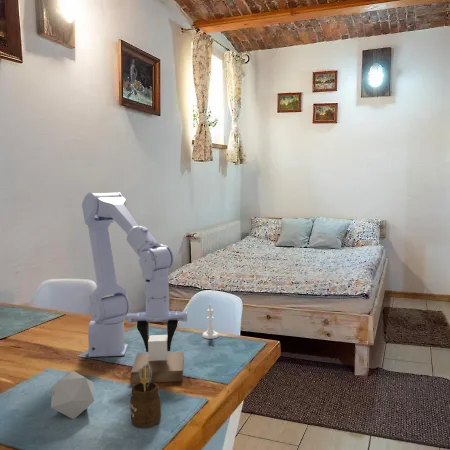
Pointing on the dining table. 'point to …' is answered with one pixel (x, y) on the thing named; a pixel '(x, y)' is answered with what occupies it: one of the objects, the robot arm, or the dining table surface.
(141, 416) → the utensil holder
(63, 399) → the die
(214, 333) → the chess piece
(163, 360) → the walnut block
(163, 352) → the white cube
